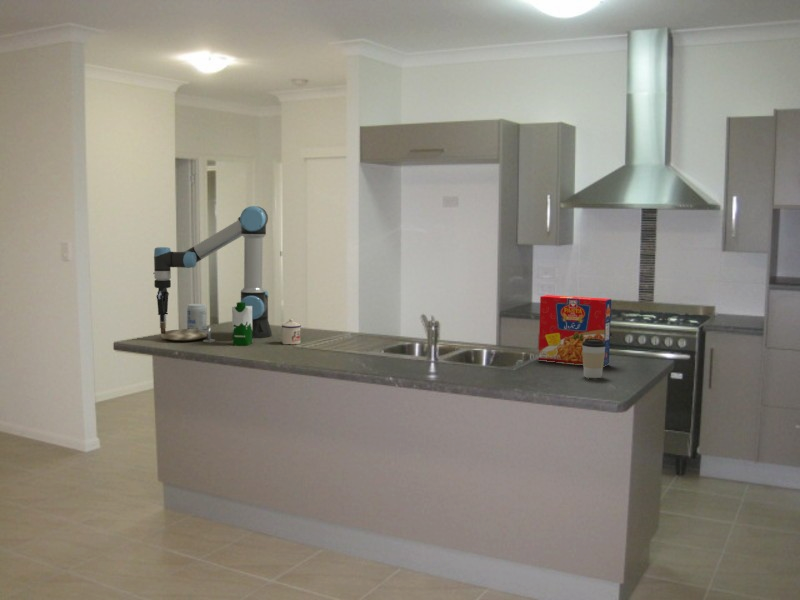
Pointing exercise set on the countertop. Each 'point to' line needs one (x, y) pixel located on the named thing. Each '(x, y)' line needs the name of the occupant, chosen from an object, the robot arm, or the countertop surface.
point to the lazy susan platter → (182, 334)
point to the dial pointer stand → (208, 335)
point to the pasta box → (572, 326)
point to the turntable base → (184, 340)
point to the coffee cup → (593, 357)
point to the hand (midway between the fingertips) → (163, 327)
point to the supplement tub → (196, 316)
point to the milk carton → (242, 324)
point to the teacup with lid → (291, 332)
